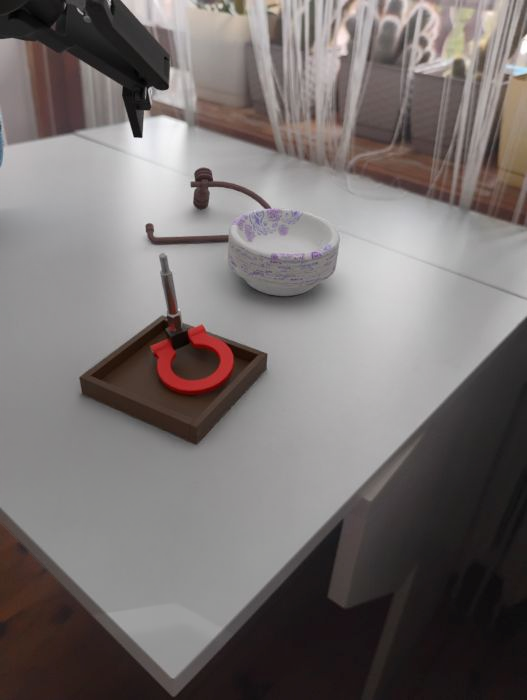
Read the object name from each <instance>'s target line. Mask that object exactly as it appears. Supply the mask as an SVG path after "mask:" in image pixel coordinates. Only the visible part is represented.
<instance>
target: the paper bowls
mask: <svg viewBox="0 0 527 700" xmlns="http://www.w3.org/2000/svg"><path fill="white" fill-rule="evenodd" d="M271 208H272V207H271ZM227 235H228V236H229V240H228V241H227V242H228V244H227V245H228V246H227V247H228V248H227V249H228V250H227V253H228V254H227V261H228V264H229V267H230V269H231V270H232V271H233V272H234V273H235V274H236V275H237V276H238V277H240V278H242V279H244V280H245V281H246V283H247V284H248V285H249V286H250V287H251V288H253V290H254V289H255V290H256V291H259V292H260V293H263V294H266V295H270V296H277V297H292V296H298V295H301V294H304V293H307V292H308V291H310V290H312V289H313V288H314V287H315V286H316V285H317V284H320V283H322V282H324V281H327V280H328V279H329V278H330V277H331V276H332V275H333V274H334V273H335V271H336V267H337V263H338V262H337V261H338V256H339V250H340V243H341V238H340V233H339V231H338V230H337V228H336V227H335V226H334V225H333V224H332V223H331V222H330V221H328V220H327V219H325V218H323V217H321V216H318V215H316V214H314V213H310V212H307V211H303V210H298V209H291V208H276V207H275V208H272V209H264V208H262V209H255V210H252V211H247V212H244V213H243V214H241V215H239V216H237V217H235V219H234V220H233V221H232V222H231V224H230V225H229V227H228V234H227Z"/></svg>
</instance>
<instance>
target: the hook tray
mask: <svg viewBox="0 0 527 700" xmlns="http://www.w3.org/2000/svg"><path fill="white" fill-rule="evenodd" d="M182 323H183V324H184V325H185V327H186V328H187V329H188V330H190V329H192V328H194V327H195V326H193V325H191V324H188V323H185V322H183V321H182ZM168 327H169V325H168V320H167V315H162V314H161V315H160V316H159V317H157V318H156V319H155V320H153V321H152V322H151V323H149V324H148V325H147V326H146V327H144V328H143V329H142V330H140V331H138V332H137V333H136V334H135V335H133V336H131V338H129V339H128V340H126V341H125V342H124V343H122V344H121V345H120V346H119V347H118V348H116V349H115V350H113V351H111V353H110V354H108V355H107V356H105V357H104V358H102V359H101V360H100V361H98V362H97V363H96V364H94V365H93V366H92V367H91V368H89V369H88V370H86V371H85V372H83V374H81V375H80V376H79V383H80V384H79V385H80V392H81V394H82V395H83V396H86V397H88V398H90V399H93V400H95V401H97V402H99V403H102V404H104V405H106V406H109V407H110V408H113V409H116V410H118V411H120V412H121V413H124V414H127V415H128V416H131V417H133V418H136V419H137V420H140V421H142V422H145V423H147V424H149V425H151V426H152V427H153V426H154V427H156V428H158V429H160V430H162V431H165V432H167V433H169V434H171V435H174V436H175V437H179V438H181V439H183V440H185V441H187V442H190V443H192V444H194V445H198V444H199V442H200V441H201V440H202V439H204V437H205V436H206V435H207V434H208V433H209V432H210V431H211V430H212V429H213V428H214V426H215V425H216V424H218V422H219V421H220V420H221V419H222V418H223V417H224V416H225V415H226V414H227V413H228V411H229V410H230V409H231V408H232V407H233V406H234V405H235V404H236V403H237V402H238V401H239V399H240V398H242V397H243V395H244V394H245V393H246V392H247V391H248V390H249V389H250V388H251V387H252V386H253V384H254V383H255V382H257V380H258V379H259V378H260V377H261V376H262V375H263V374H264V373H265V371H267V367H268V353H267V352H264V351H262V350H260V349H257V348H254V347H251V346H248V345H246V344H243V343H240V342H237V341H235V340H232V339H229V338H227V337H223V336H221V335H218V334H215V333H212V332H210V331H207V330H206V333H207V335H208V336H211V337H214V338H217V339H219V340H221V341H223V342H224V343H226V345H227V346H228V347H229V348H230V349H231V351H232V354H233V357H234V368H233V371H232V374H231V376H230V377H229V379H228V380H227V381H226V382H225V383H224V384H223V385H221V386H220V387H218V388H216V389H214V390H213V391H210V392H207V393H203V394H196V395H187V394H180V393H177V392H175V391H172V390H170V389H169V388H168V387H166V386H165V385H164V384H163V383H162V381H161V380H160V378H159V375H158V371H157V361H158V358H157V357H154V356H153V355H152V353H151V351H150V346H152V345H154V344H157V343H159V342H161V341H164V340H166V339H167V335H166V330H165V329H166V328H168ZM175 352H176V358H175V359H174V360H173V363H172V365H171V369H172V371H173V373H174V374H175V375H176V376H178V377H179V378H182V379H185V380H200V379H204V378H206V377H208V376H210V375H212V374H213V373H214V372H215V371H216V370H217V369H218V367H219V364H220V359H219V357H218V356H217V355H216V354H215V353H214V352H212V351H211V350H208V349H203V348H194V347H193V345H192V344H191V343H189V344H188V345H186V346H183V347H181V348H179V349H176V350H175Z"/></svg>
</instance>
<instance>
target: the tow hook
mask: <svg viewBox="0 0 527 700" xmlns="http://www.w3.org/2000/svg"><path fill="white" fill-rule="evenodd" d="M158 258H159V263H160V268H161V270H160V271H159V274H160V279H161V284H162V289H163V294H164V300H165V305H166V317H167V320H168V325H169V327H168V328H166V329H165V330H166V335H167V339H166V340H164V341H161V342H159V343H157V344H154V345H152V346H150V351H151V353H152V355H153V356H154V357H157V358H158V361H157V371H158V375H159V378H160V380H161V381H162V383H163V384H164V385H165V386H166V387H168V388H169V389H170V390H172V391H175V392H177V393H180V394H187V395H196V394H203V393H207V392H210V391H213V390H214V389H216V388H218V387H220V386H221V385H223V384H224V383H225V382H226V381H227V380H228V379H229V377H230V376H231V374H232V371H233V368H234V357H233V354H232V351H231V349H230V348H229V347H228V346H227V345H226V343H224V342H223V341H221V340H219V339H217V338H214V337H211V336H208V335H207V333H206V331H207V329H206V327H205V326H204V325H203V324H202V323H201V324H199V325H197V326H194V328H192V329H190V330H188V329H187V328H186V327H185V325H184V324H183V323H184V322H183V317H182V312H181V309H180V308H179V305H178V299H177V293H176V289H175V282H174V277H173V271H172V269H171V268H170V265H169V261H168V255H167V253H165V252H161V253H159V254H158ZM182 322H183V323H182ZM189 343H191V344H192V345H193V347H194V348H203V349H208V350H211V351H212V352H214V353H215V354H216V355H217V356H218V357H219V359H220V364H219V367H218V369H217V370H216V371H215V372H214V373H213V374H212V375H210V376H208V377H206V378H204V379H200V380H185V379H182V378H179V377H178V376H176V375H175V374H174V373H173V371H172V369H171V365H172V363H173V360H174V359H175V358H176V352H175V350H176V349H179V348H181V347H183V346H186V345H188V344H189Z"/></svg>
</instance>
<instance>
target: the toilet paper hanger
mask: <svg viewBox="0 0 527 700" xmlns="http://www.w3.org/2000/svg"><path fill="white" fill-rule="evenodd" d="M193 176H194V181H190V188H192V189H193V188H194V191H193V197H192V199H193V200H192V204H193V207H195V208H196V209H197V210H198V209H199V210H205V209H207V208H208V207H209V204H210V196H211V195H210V194H211V193H210V190H209V188H224V189H229V190H234V191H236V192H239V193H242V194H244V195H246V196H248V197H250V198H251V199H252V200H254V201H255V202H257V203H258V204H259V205H260V206H261V207H262V209H272V207H271V205H270V204H269V203H268V202H267V201H266V200H265V199H264V198H262V197H261V196H260V195H259V194H257V193H256V192H255V191H253V190H251V189H249V188H247V187H244V186H243V185H239V184H236V183H233V182H228V181H223V180H221V181H220V180H218V181H217V180H214V177H213V171H212V170H211V169H210V168H208V167H199V168H198V169H196V170H195V171H194V173H193ZM144 227H145V233H146V236H147V240H148V241H149V242H151V243H152V244H158V245H159V244H187V243H214V242H215V243H217V242H228V240H229V236H228V234H217V235H212V234H211V235H189V236H188V235H187V236H184V235H183V236H159V237H157V236H155V235H154V232H155V225H154V224H153V223H151V222H148V223H146V224H145V226H144Z"/></svg>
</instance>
